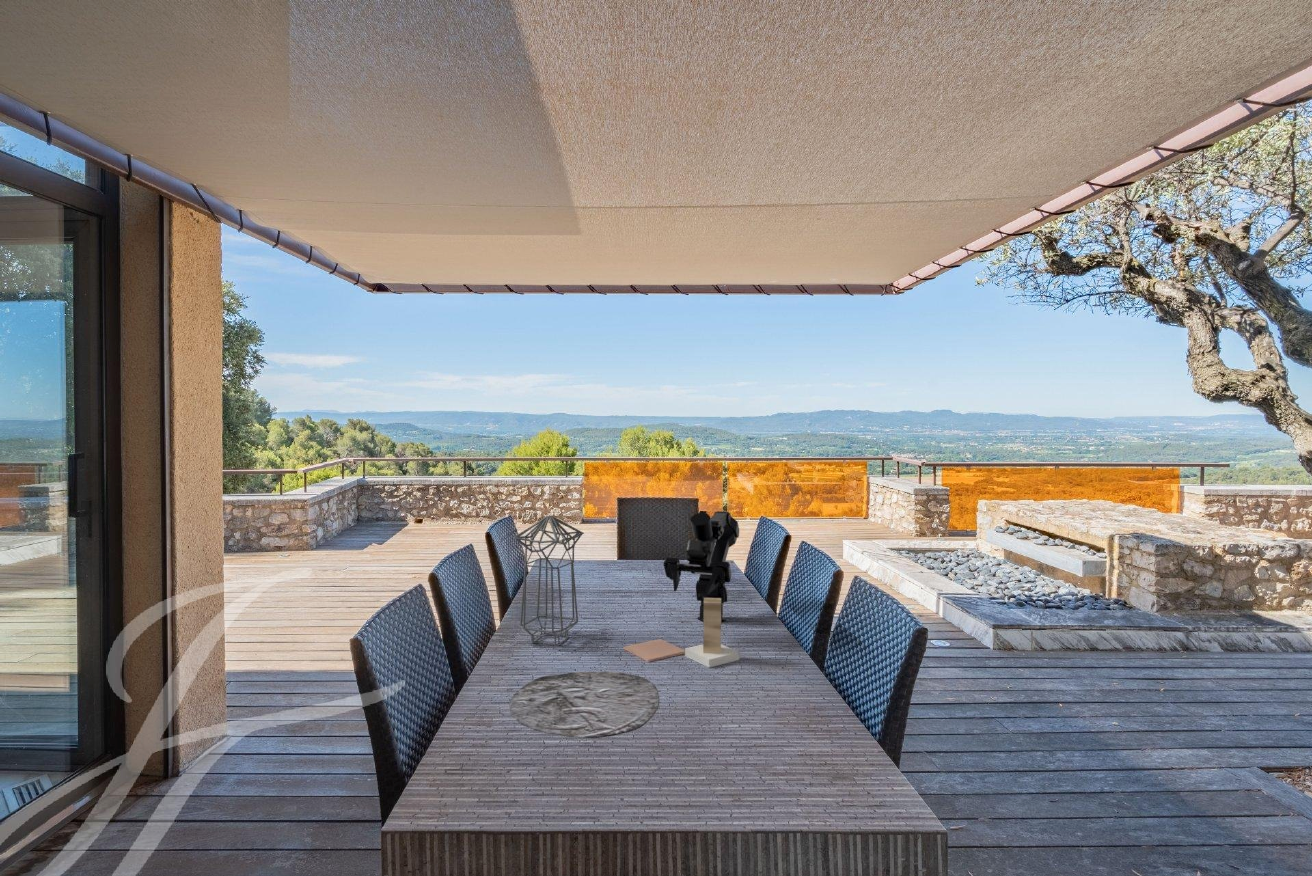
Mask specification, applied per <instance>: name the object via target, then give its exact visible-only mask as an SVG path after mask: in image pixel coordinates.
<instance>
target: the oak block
mask: <svg viewBox="0 0 1312 876" xmlns="http://www.w3.org/2000/svg"><path fill="white" fill-rule="evenodd" d="M702 632H703V640H702V642H703V653H721V644H722V622H721V598H704V621H703V631H702Z"/></svg>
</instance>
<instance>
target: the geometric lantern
mask: <svg viewBox="0 0 1312 876" xmlns="http://www.w3.org/2000/svg"><path fill="white" fill-rule="evenodd" d="M548 522H549V523H550V528H551V530H547V529H546V528H547V526H548ZM563 526H565V527H568V528H569V529H571V530H573V531H568V530H566V529H565V528H564V527H563ZM528 531H529V532H528ZM527 532H528V533H527ZM540 532H541V534H540V535H541V536H540V538H539V540H535V538H536V536H537V535H538V534H539V533H540ZM524 534H525V535H524ZM550 534H553V536H554V537H552V536H551V535H550ZM572 534H573V535H572ZM584 534H585V533H584V532H583V531H581V530H579V529H578V528H575V527H573V526H572V525H570V524H568V523H566V522H565V521H562V520H561V519H559V518H557V517H555V516H553V515H546V516H545V517H544V518H542V519H540V520H538V521H537V522H535V523H534V524H533V525H531V526H529V527H528V528H526V529H525V530H523V531H521V532H520V533H518V534H516V535H514V537H513V539H514V540H515V541H516V542H518V543H519V544H520V545H521V546H523V547H524V552H525V553H524V564H523V565H524V569H523V582H522V584H523V585H522V594H521V608H520V620H519V621H520V623H519V627H520V629H522V630H524V631H525V632H526V633H527V634H529V635H530V637H531V638H530V642H531V643H532V644H541V645H550V646H559V645H561V644H562V643H564V642H565V641H566V640H568V639H569V638H570V637H569V631H570V630H571V629H572V628H573V627H575V625H577V624H578V623H579V614H578V604H577V603H578V602H577V592H576V591H577V590H576V581H575V579H576V578H575V569H574V566H575V565H574V564H575V563H574V562H575V547H576V546H575V545H576V544H577V542H579V539H580V538H581V537H582V536H583V535H584ZM544 535H546V536H547V537H548V538H549V539H551V540H543V537H544ZM560 536H561V540H560ZM570 541H572V545H571V544H570ZM527 542H529V544H527ZM534 543H535V544H536V543H537V544H538V549H536V547H535V546H534ZM546 543H548V544H547V545H546V546H544V547H543V548H542V547H541V544H546ZM549 543H550V544H549ZM557 544H560V545H563V548H564V549H565V551H564V552H563V555H562V556H561V557H560V558H554V557H553V558H552V557H550V556H551V554H552V552H553V551H554V549H555V547H556V546H557ZM570 545H571V546H570ZM551 546H552V548H551V550H550V551H549V553H548V554H546V553H545V550H546V549H549V547H551ZM570 550H571V551H572V555H571V554H570V552H569V551H570ZM528 551H529V552H530V554H529V556H528V555H527V554H528ZM533 553H536V554H537V556H538V557H539V558H537V559H534V560H531V561H530V559H531V557H532V554H533ZM539 553H542V555H543V557H542V556H541V554H539ZM566 553H567V554H568V556H569V557H568V558H569V559H566V558H565V556H566ZM550 560H554V561H559V563H558V564H557V566H553V565H552V563H551V562H550ZM537 561H539V565H529V564H532V563H535V562H537ZM542 561H545V566H542ZM562 561H568V562H569V563H566V564H563V565H561V562H562ZM548 565H549V566H548ZM560 565H561V566H560ZM569 565H570V573H571V574H570V575H571V577H570V579H571V580H570V581H571V607H572V617H568V616H567V617H566V616H563V609H562V608H563V607H562V591H561V590H562V589H561V576H560V574H561V573H560V569H562V568H563V567H566V566H569ZM529 567H530V568H538V584H537V602H536V603H537V604H536V616H535V617H534V618H532V619H530V620H528V621H526V611H527V610H526V609H527V606H526V602H527V600H526V599H527V569H528V568H529ZM541 569H545V605H544V606H545V609H544V610H545V615H539V613H540V612H539V611H540V593H541V576H542V573H541V572H542V570H541ZM548 569H550V593H551V594H550V596H551V597H550V598H551V599H550V601H551V607H550V608H551V615H548ZM553 570H557V584H558V585H557V586H558V599H559V601H558V602H559V604H558V605H559V616H557V615H555V616H554V575H553V573H554V571H553ZM542 618H545V620H544V626H543V625H542V623H541V620H540V619H542ZM547 618H549V619H550V618H551V626H546V625H547ZM554 619H558V620H559V619H560V627H554V625H555V623H554V622H555V621H554ZM535 620H537V621H538V624H539V625H540V628H531V627H526V625H528V624H529V623H531V622H533V621H535ZM563 620H571V621H570V623H569V624H568V625H567V626H565V627H564V624H563V623H564V622H563ZM546 629H547V630H546ZM548 629H549V630H548ZM531 631H533V633H532V632H531ZM538 632H540V634H536V633H538ZM557 633H559V634H557ZM547 635H548V636H547ZM561 637H565V638H564V639H563V640H560V638H561ZM539 638H547V639H548V638H549V639H553V640H554V643H550V642H541V641H535V640H536V639H539Z"/></svg>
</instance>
